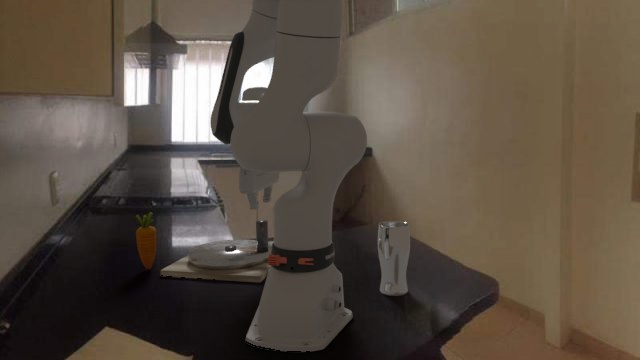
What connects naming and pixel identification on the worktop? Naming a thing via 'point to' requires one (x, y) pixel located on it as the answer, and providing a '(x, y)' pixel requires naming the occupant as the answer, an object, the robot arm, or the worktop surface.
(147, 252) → the carrot
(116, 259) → the worktop surface
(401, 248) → the beer glass
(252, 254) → the dial
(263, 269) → the dial base
